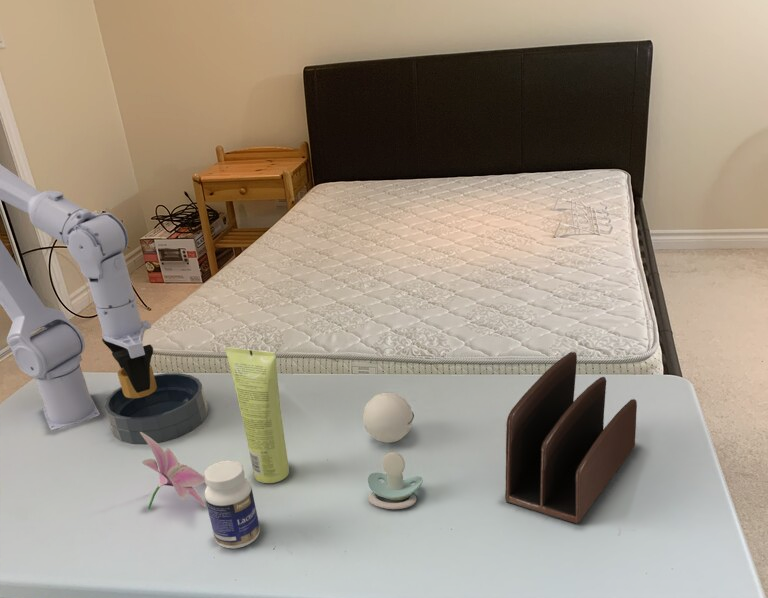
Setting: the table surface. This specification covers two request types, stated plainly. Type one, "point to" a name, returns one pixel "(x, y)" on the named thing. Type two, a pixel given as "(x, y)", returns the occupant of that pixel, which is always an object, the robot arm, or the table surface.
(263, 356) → the tube
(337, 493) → the table surface
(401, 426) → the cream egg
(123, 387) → the ring
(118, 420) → the bowl
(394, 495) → the pacifier
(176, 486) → the lily
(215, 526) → the pill bottle
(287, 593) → the table surface
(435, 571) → the table surface
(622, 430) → the letter holder
